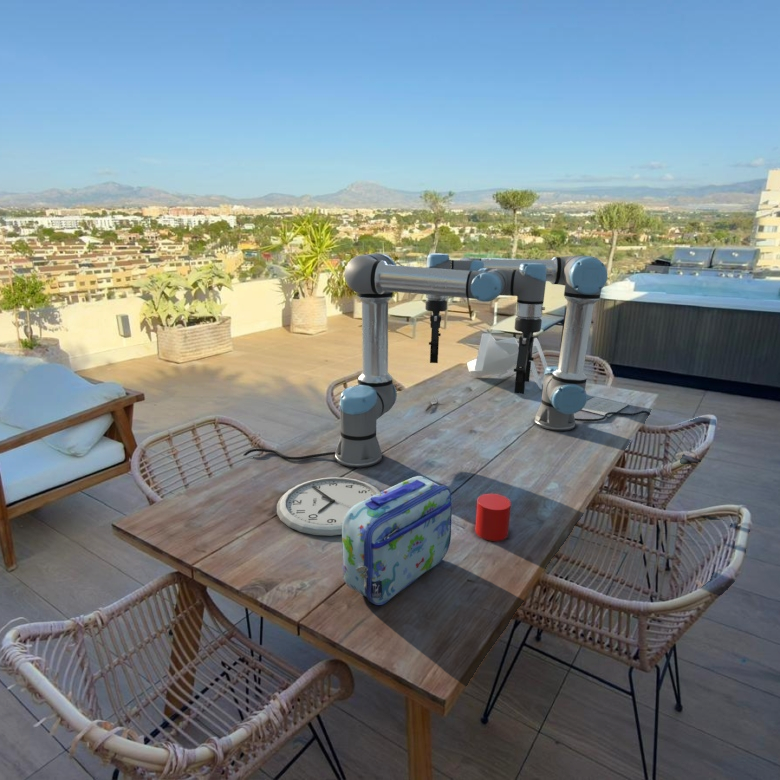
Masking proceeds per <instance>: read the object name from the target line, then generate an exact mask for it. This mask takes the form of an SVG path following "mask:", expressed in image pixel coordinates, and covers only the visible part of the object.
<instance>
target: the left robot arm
mask: <svg viewBox="0 0 780 780" xmlns="http://www.w3.org/2000/svg"><path fill="white" fill-rule="evenodd" d="M546 270H547V268H546V266H545V265H544V264H541V263H522V264H521V265H520V268H519V270H507V269H492V268H487V269H480V270H479V271H467V270H453V269H439V268H427V266H426V267H424V266H423V267H422V266H411V265H397V264H396V262H395V261H394V260H393V259H392V258H391V257H390V256H389V255H387V254H384V253H378V252H375V253H374V252H373V253H368V254H360V255H359V254H358V255H356V256H354V257H352V258H351V259H350V260H349V261H348V262H347V264H346V266H345V268H344V280H345V283H346V285H347V286H348V288H349V289H350V290H352V291H353V292H355V293H356V297H357V299H358V300H359V301H360V302H361V326H362V327H361V340H362V341H361V343H362V345H361V347H362V350H361V351H362V352H361V353H362V372H361V374H359V376H358V378H357V380H358V381H357V383H358V384H357V385H354V386H349V387H347V388H345V389H344V390H342V392H341V393H340V396H339V400H340V401H339V425H340V429H339V430H340V435H339V436H340V437H339V440H338V442H337V446H336V449H335V451H330V452H328V451H327V452H322V453H315V454H314V453H313V454H307V455H302V456H288V455H285V454H283V453H281V452H279V451H277V450H274V449H270V448H269V449H268V448H252V449H249V450H247V451H245V453H243V455H242V456H243V457H246V456H248V455H249V454H251V453H253V452H254V453H255V452H263V453H272V454H275V455H277V456H279V457H281V458H283V459H285V460H293V461H295V460H297V461H299V460H305V459H312V458H318V457H325V456H334V459H335V462H336V463H337V464H339V465H341V466H343V467H347V468H353V469H354V468H355V469H356V468H357V469H361V468H369V467H373V466H375V465H377V464H379V463H380V462H381V461H382V457H383V456H382V455H383V453H382V449H381V445H380V443H379V441H378V436H377V420H378V419H380V418H381V417H382V416H383V415H385V414H387V413H389V411H390V410H391V409H392V408H393V406H394V405H395V403H396V401H397V396H398V392H397V389H396V386H395V384H394V383H393V376H392V375H391V374H390V373H389V301H391V299H393V297H394V293H402V294H403V293H404V294H414V295H415V294H416V295H425V296H426V295H437V296H448V297H451V298H460V299H461V298H462V299H463V298H464V299H471V300H477V301H479V302H483V303H484V302H493V301H494V300H495V299H497V298H498V297H499V296H508V297H516V303H515V304H516V305H515V316H516V317H515V319H514V330H515V331H517V332H521V335H519V338H518V343H519V348H518V349H519V351H518V358H517V364H516V365H515V368H513V372H515V380H514V392H513V393H514V394H519V395H524V394H525V387H526V382H528V383H529V382H530V377H531V361H534V359H535V358H534V356H533V353H532V347H533V342H534V338H535V336H534V333H536V334H537V333H540V332H541V330H542V321H543V320H542V317H543V311H545V310H546V307H545V306H544V301H545V293H546V285H547V281H546Z"/></svg>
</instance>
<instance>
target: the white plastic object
mask: <svg viewBox="0 0 780 780" xmlns="http://www.w3.org/2000/svg"><path fill="white" fill-rule="evenodd" d="M480 337H481V338H480V342H479V346H478V347H479V348H478V351H477V355H476V358H475V359H473V360H470V361H468V362H466V365H467V369H468V373H469V374H470V375H471V376H472V377H473V378H476V377H483V376H491V375H492V376H493V375H498V376H501V375H504V374H507V373H508V372H509V370H510V369H512V368H513V367H514V366H516V365H517V358H518V351H519V349H518V348H519V341H517V338H516V337H515V336H513V337H508V338H504V339H499V340H496V339H495V338H494V336H493V335H492V334H491V333H490V332H489V333H487V332H486V333H481V336H480ZM543 351H544V350H543V348H542V346H541V343H540V340H539V339H538V338H537V337H534V342H533V347H532V354H535V353H537V352H538V355H539V358H540V360H541V364H542V367H543V369H544V371H545V369H546V368H547V367H549V366H548V363H547V359H546V357H545V354H544V352H543ZM530 370H531V372H532V375H533V379H534V382H535V384H536V385H537V386H538V388H539V389H540V390H543V385H542V382H541V380H540V377H539V374H538V371H537V368H536V365H535V361H534V360H533V361H531V368H530Z"/></svg>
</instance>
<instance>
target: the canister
mask: <svg viewBox="0 0 780 780" xmlns="http://www.w3.org/2000/svg"><path fill="white" fill-rule="evenodd" d="M476 501H477V502H476V514H475V528H474V531H475V534H476V535H477V536H478V537H479V538H482V539H483V540H486V541H490V542H498V541H503V540H505V539H506V538H507V537H508V536H509V530H510V529H509V528H510V517H511V509H512V502H511V500H510V499H509V498H508V497H506V496H504V495H501V494H498V493H483V494H481V495H479V496H478V498H477V500H476Z"/></svg>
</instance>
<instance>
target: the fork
mask: <svg viewBox="0 0 780 780" xmlns="http://www.w3.org/2000/svg"><path fill="white" fill-rule="evenodd" d="M438 401H439V398H438V397H435V396H433V398H432V399H431V401H430V404H429V405H428V406H427V408H426V409H425V412H427V411H428V410H429V409H431V408H432V406H433V405H437V404H438Z"/></svg>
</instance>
